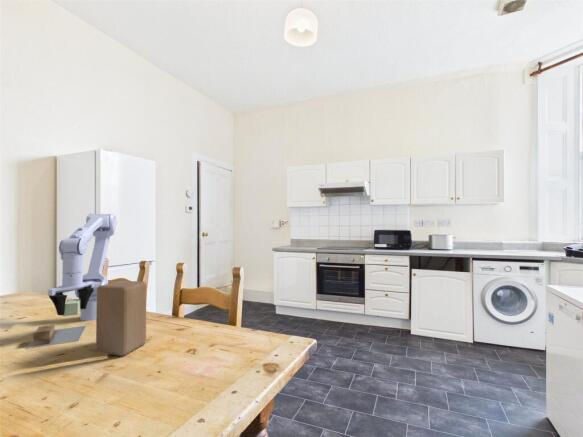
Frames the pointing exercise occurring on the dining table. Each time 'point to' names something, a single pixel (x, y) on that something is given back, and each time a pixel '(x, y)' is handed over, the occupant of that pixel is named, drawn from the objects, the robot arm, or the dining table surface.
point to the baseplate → (63, 336)
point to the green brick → (72, 307)
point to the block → (121, 317)
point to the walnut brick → (43, 335)
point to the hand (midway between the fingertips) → (72, 311)
